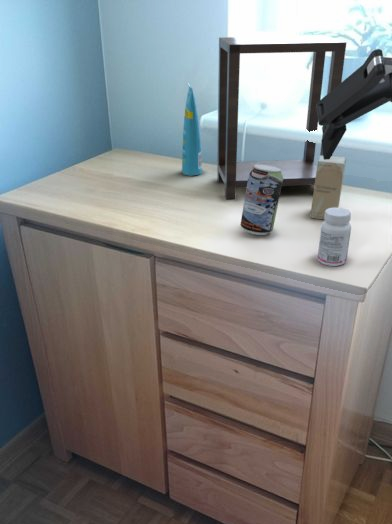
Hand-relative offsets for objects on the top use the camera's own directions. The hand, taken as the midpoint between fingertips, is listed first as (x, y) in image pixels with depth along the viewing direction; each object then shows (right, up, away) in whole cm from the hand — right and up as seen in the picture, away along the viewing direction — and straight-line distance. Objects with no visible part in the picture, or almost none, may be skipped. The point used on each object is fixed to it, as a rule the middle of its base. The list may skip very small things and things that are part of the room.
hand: (376, 148), depth 72 cm
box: (+2, 0, +38) cm, 38 cm away
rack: (-7, +10, +52) cm, 54 cm away
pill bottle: (-1, -11, +21) cm, 23 cm away
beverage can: (-12, -4, +31) cm, 33 cm away
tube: (-24, +16, +62) cm, 69 cm away
